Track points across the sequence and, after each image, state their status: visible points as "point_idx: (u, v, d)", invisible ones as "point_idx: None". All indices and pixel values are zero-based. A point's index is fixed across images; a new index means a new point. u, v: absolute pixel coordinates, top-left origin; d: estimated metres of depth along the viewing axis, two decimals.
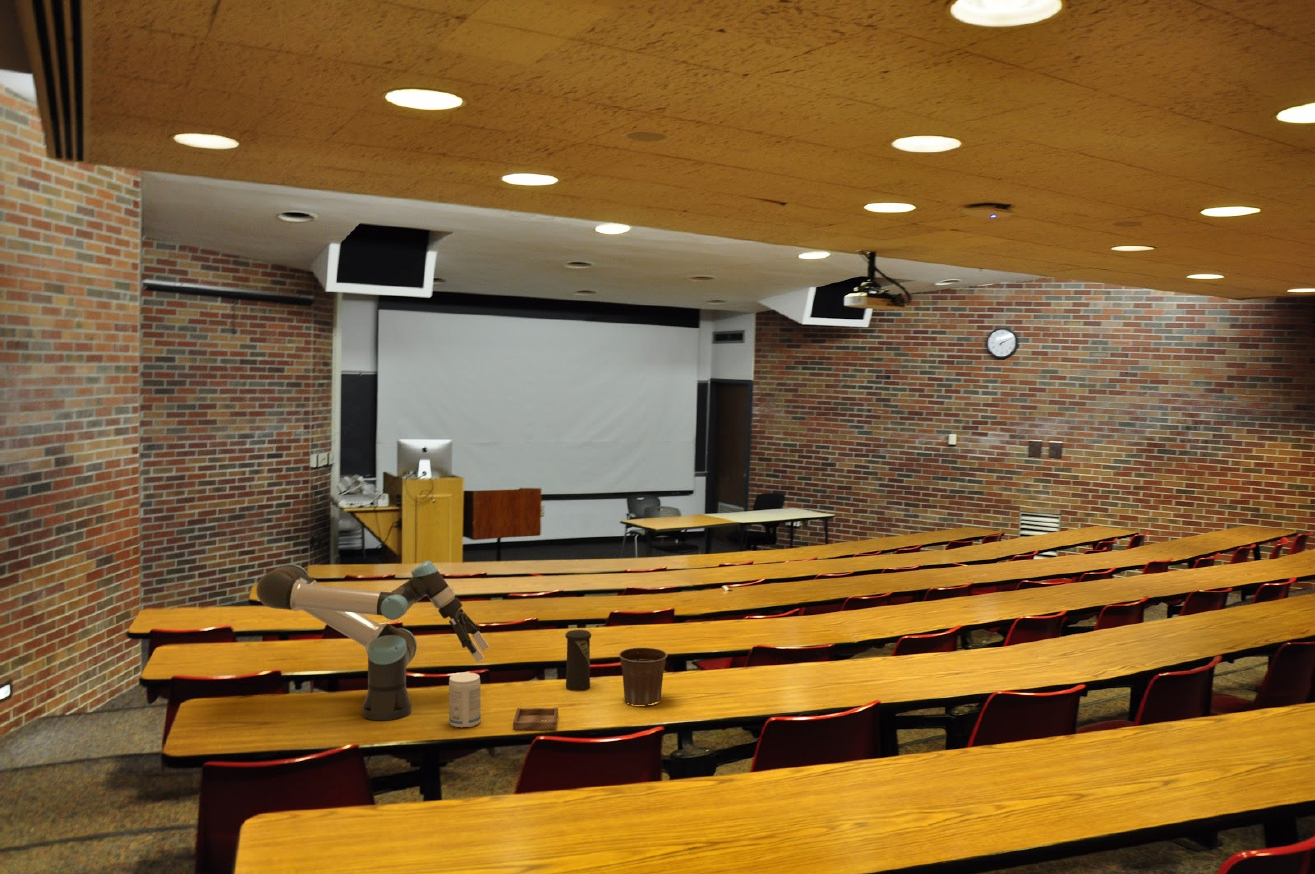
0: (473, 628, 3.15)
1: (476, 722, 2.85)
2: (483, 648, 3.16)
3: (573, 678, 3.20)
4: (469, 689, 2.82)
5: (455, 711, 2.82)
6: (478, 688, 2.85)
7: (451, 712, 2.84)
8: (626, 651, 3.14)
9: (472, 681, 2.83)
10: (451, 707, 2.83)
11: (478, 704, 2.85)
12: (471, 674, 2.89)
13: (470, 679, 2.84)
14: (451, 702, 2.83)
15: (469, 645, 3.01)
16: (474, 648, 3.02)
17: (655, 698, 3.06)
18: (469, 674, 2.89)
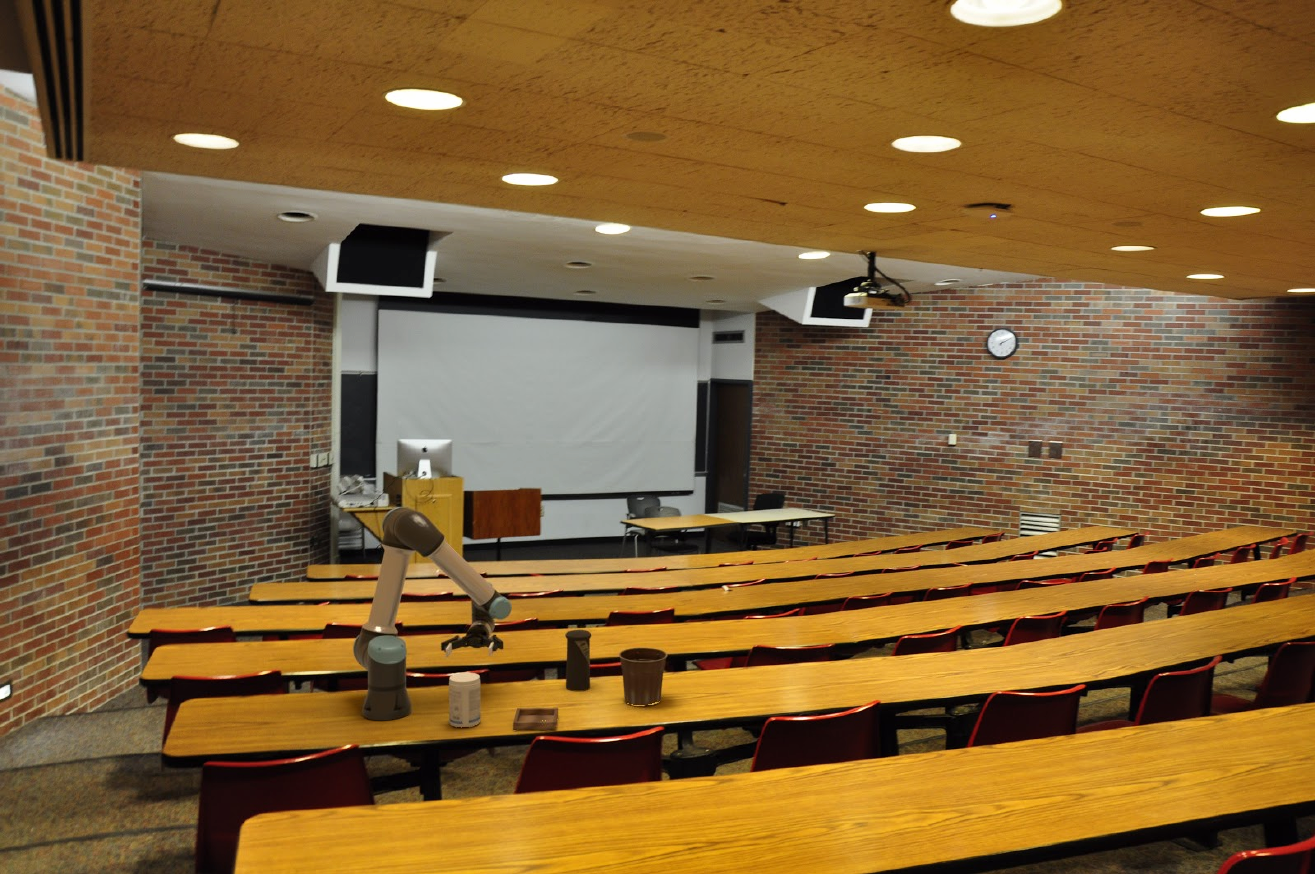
0: (454, 648, 3.03)
1: (476, 722, 2.85)
2: (448, 651, 2.96)
3: (573, 678, 3.20)
4: (469, 689, 2.82)
5: (455, 711, 2.82)
6: (478, 688, 2.85)
7: (451, 712, 2.84)
8: (626, 651, 3.14)
9: (472, 681, 2.83)
10: (451, 707, 2.83)
11: (478, 704, 2.85)
12: (471, 674, 2.89)
13: (470, 679, 2.84)
14: (451, 702, 2.83)
15: (497, 647, 3.02)
16: (494, 650, 3.00)
17: (655, 698, 3.06)
18: (469, 674, 2.89)
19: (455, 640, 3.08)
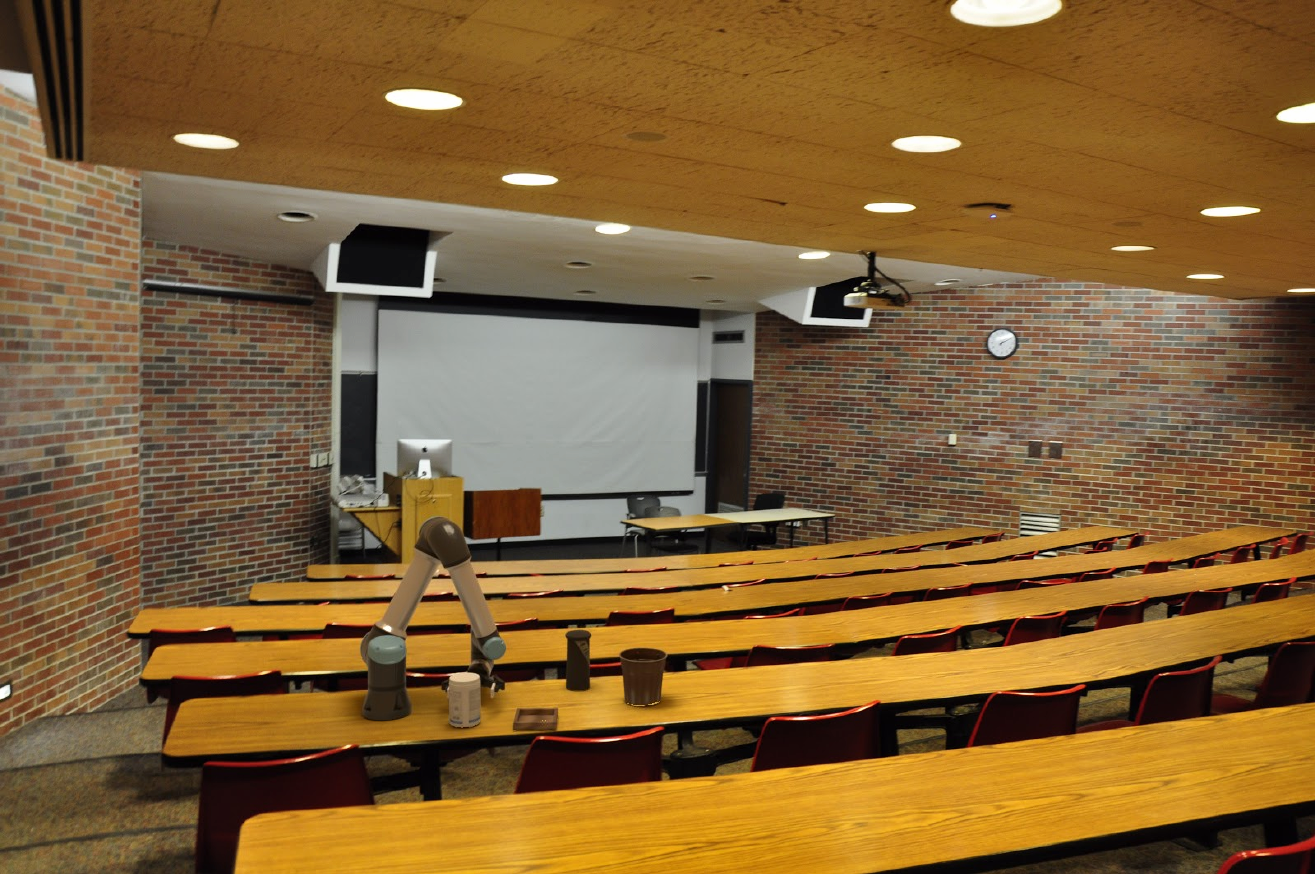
0: None
1: (476, 722, 2.85)
2: None
3: (573, 678, 3.20)
4: (469, 689, 2.82)
5: (455, 711, 2.82)
6: (478, 688, 2.85)
7: (451, 712, 2.84)
8: (626, 651, 3.14)
9: (472, 681, 2.83)
10: (451, 707, 2.83)
11: (478, 704, 2.85)
12: (471, 674, 2.89)
13: (470, 679, 2.84)
14: (451, 702, 2.83)
15: (498, 688, 2.98)
16: None
17: (655, 698, 3.06)
18: (469, 674, 2.89)
19: None
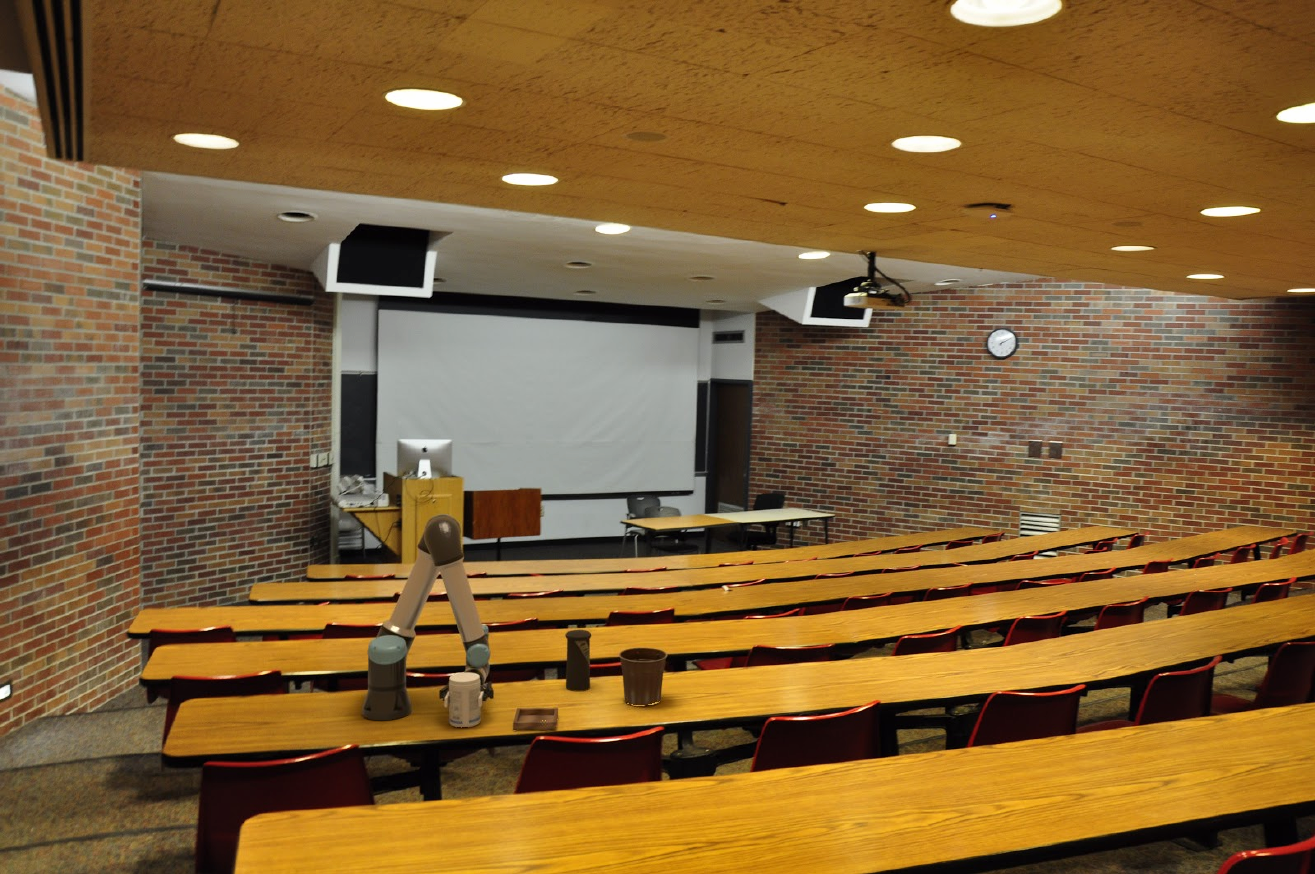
0: None
1: (476, 722, 2.85)
2: (447, 700, 2.83)
3: (573, 678, 3.20)
4: (469, 689, 2.82)
5: (455, 711, 2.82)
6: (478, 688, 2.85)
7: (451, 712, 2.84)
8: (626, 651, 3.14)
9: (472, 681, 2.83)
10: (451, 707, 2.83)
11: None
12: (471, 674, 2.89)
13: (470, 679, 2.84)
14: (451, 702, 2.83)
15: (487, 696, 2.89)
16: None
17: (655, 698, 3.06)
18: (469, 674, 2.89)
19: None
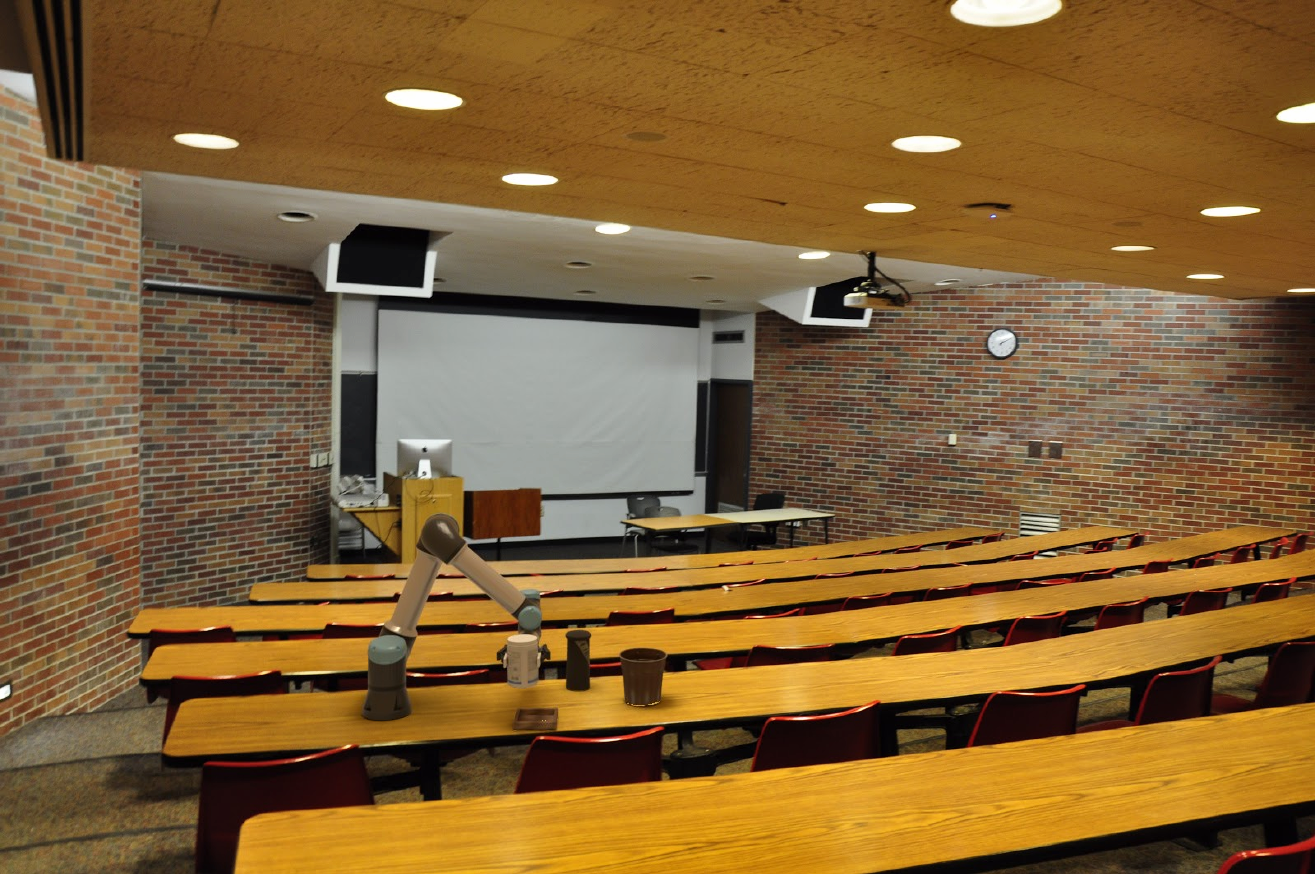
0: None
1: (534, 683, 2.85)
2: (506, 661, 2.83)
3: (573, 678, 3.20)
4: (528, 650, 2.83)
5: (514, 671, 2.83)
6: (536, 649, 2.86)
7: (510, 673, 2.84)
8: (626, 651, 3.14)
9: (530, 642, 2.84)
10: (510, 668, 2.84)
11: (536, 665, 2.86)
12: (528, 635, 2.90)
13: (528, 640, 2.85)
14: (510, 663, 2.84)
15: (544, 657, 2.90)
16: None
17: (655, 698, 3.06)
18: (526, 635, 2.90)
19: None
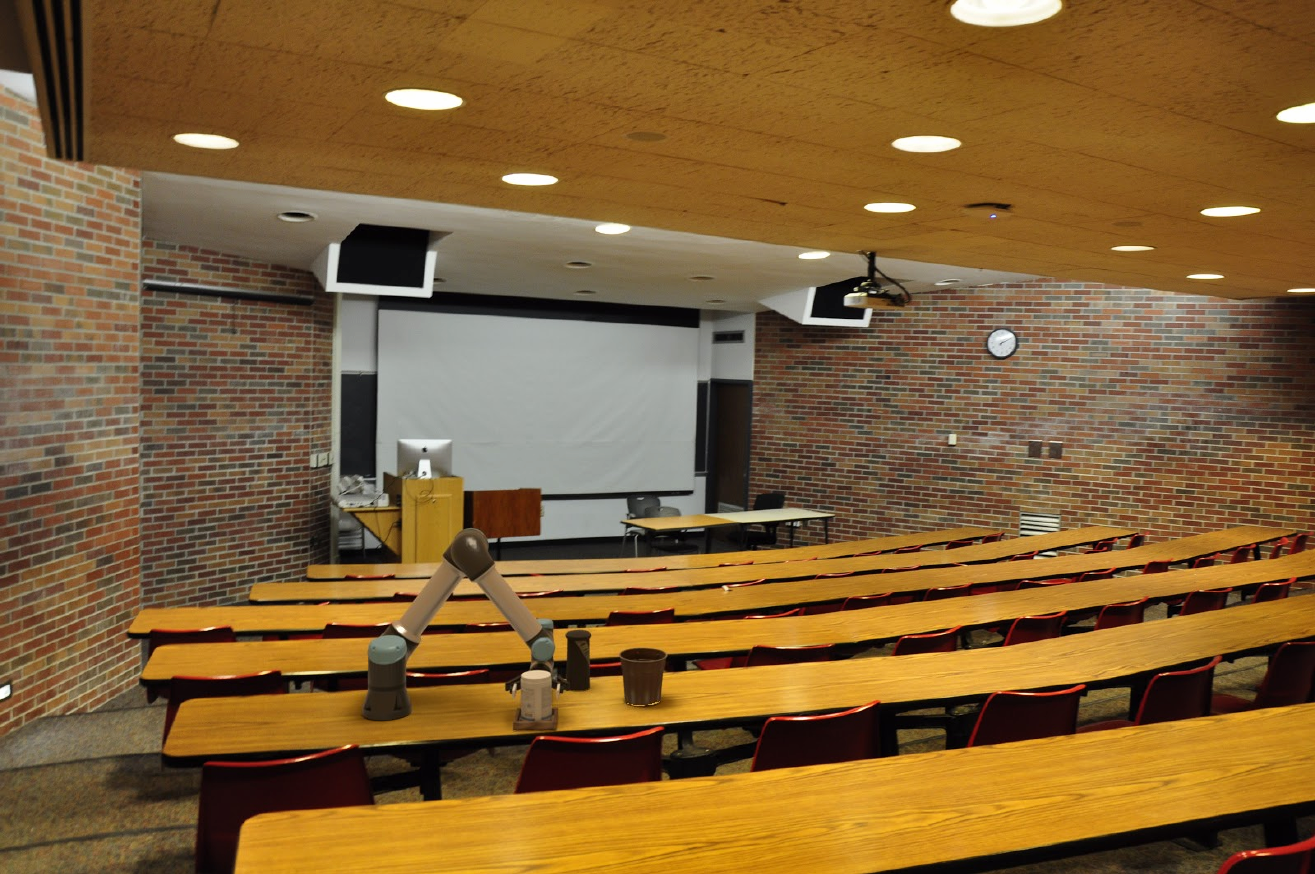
0: (518, 688, 2.93)
1: (548, 719, 2.86)
2: (514, 692, 2.85)
3: (573, 678, 3.20)
4: (542, 686, 2.84)
5: (528, 708, 2.84)
6: (550, 685, 2.87)
7: (523, 709, 2.85)
8: (626, 651, 3.14)
9: (544, 679, 2.84)
10: (523, 704, 2.85)
11: (550, 701, 2.87)
12: (541, 671, 2.91)
13: (542, 676, 2.85)
14: (523, 699, 2.85)
15: (563, 688, 2.91)
16: None
17: (655, 698, 3.06)
18: (540, 672, 2.90)
19: (518, 680, 2.97)
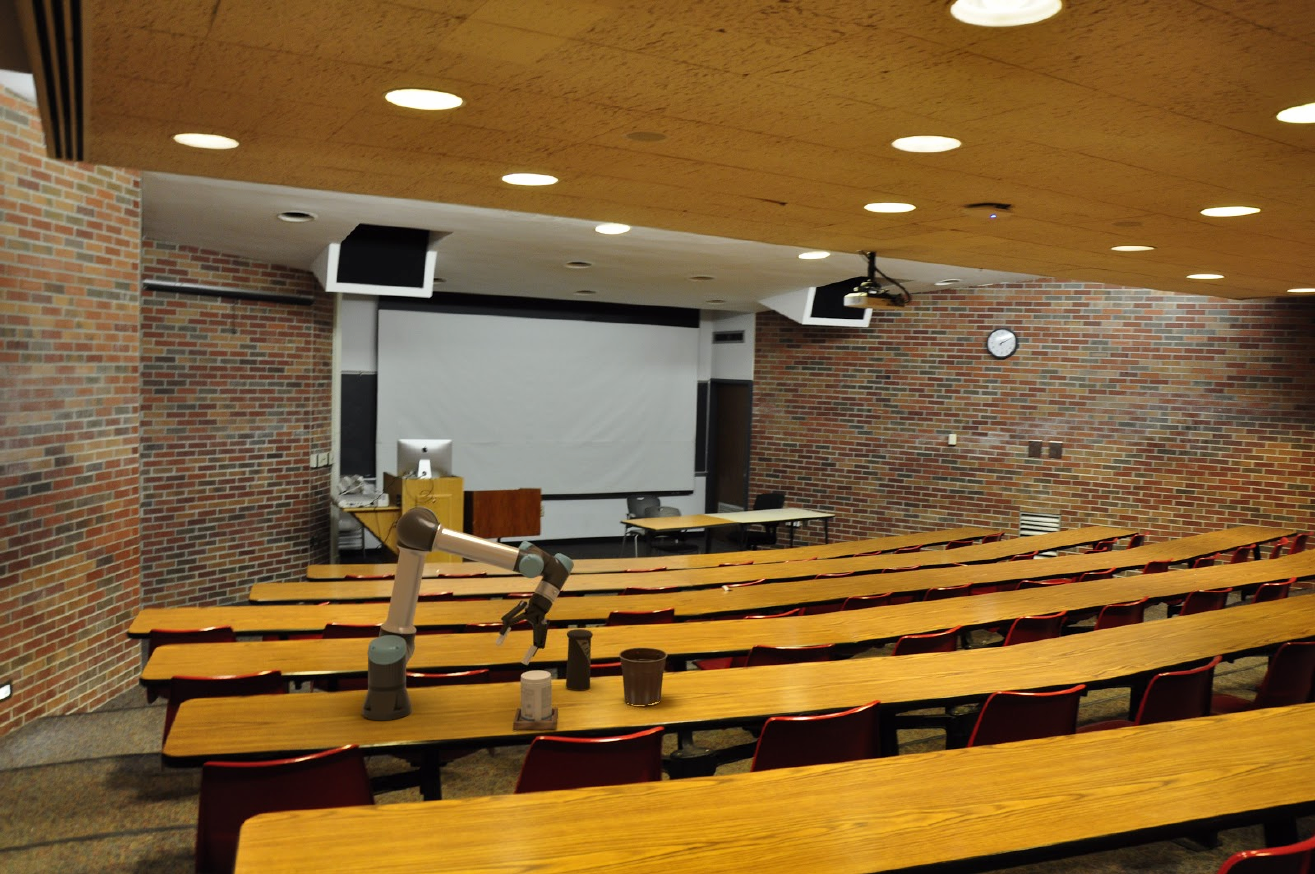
0: (536, 640, 3.07)
1: (548, 719, 2.86)
2: (523, 661, 3.05)
3: (573, 677, 3.20)
4: (542, 687, 2.84)
5: (528, 708, 2.84)
6: (550, 686, 2.86)
7: (523, 710, 2.85)
8: (626, 651, 3.14)
9: (544, 679, 2.84)
10: (523, 705, 2.85)
11: (550, 702, 2.87)
12: (541, 672, 2.90)
13: (542, 677, 2.85)
14: (523, 700, 2.85)
15: (504, 625, 2.98)
16: (504, 632, 2.98)
17: (655, 698, 3.06)
18: (540, 672, 2.90)
19: (541, 628, 3.10)
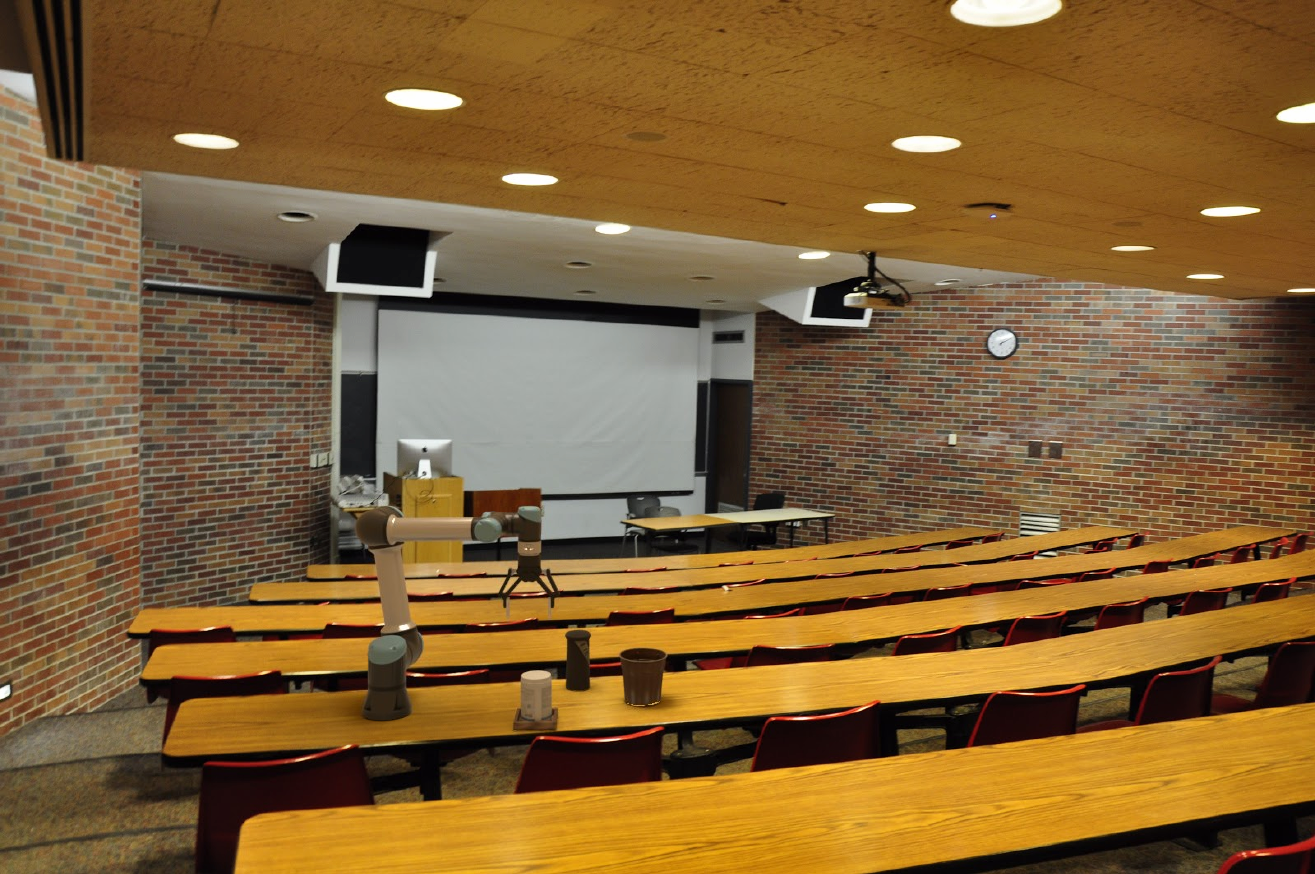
0: (547, 593, 3.04)
1: (548, 720, 2.86)
2: None
3: (573, 678, 3.20)
4: (542, 687, 2.84)
5: (528, 708, 2.84)
6: (550, 686, 2.86)
7: (523, 710, 2.85)
8: (626, 651, 3.14)
9: (544, 679, 2.84)
10: (523, 705, 2.85)
11: (550, 702, 2.87)
12: (541, 672, 2.90)
13: (542, 677, 2.85)
14: (523, 700, 2.85)
15: (503, 598, 3.04)
16: (505, 604, 3.03)
17: (655, 698, 3.06)
18: (540, 672, 2.90)
19: None
